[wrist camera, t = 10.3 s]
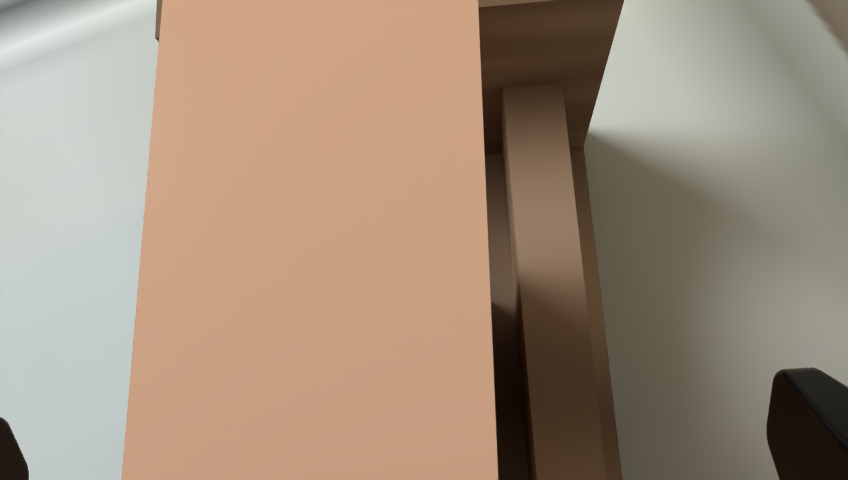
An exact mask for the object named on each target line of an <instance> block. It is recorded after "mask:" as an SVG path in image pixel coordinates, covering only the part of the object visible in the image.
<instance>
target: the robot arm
mask: <svg viewBox="0 0 848 480" xmlns="http://www.w3.org/2000/svg"><path fill="white" fill-rule="evenodd" d="M767 440H768V445H769V448H770V452H771V455H772V458H773V461H774V464H775V467H776V470H777V473H778V476H779V479H780V480H848V387H847V386H845V385H844V384H842V383H840V382H839V381H837V380H835V379H834V378H832V377H831V376H829V375H827V374H826V373H824V372H822V371H820V370H818V369H816V368H796V369H782V370H780V371H779V372H777V373H776V375H775V377H774V379H773V385H772V392H771V399H770V406H769V413H768V420H767ZM0 480H29V472H28V466H27V463H26V461H25V459H24V457H23V454H22V452H21V450H20V448H19V446H18V443H17V441H16V439H15V437H14V435H13V432H12V430H11V428H10V426H9V424H8V422H7V421H6V420H4V419H3V418H2V417H0Z"/></svg>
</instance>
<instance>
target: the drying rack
mask: <svg viewBox="0 0 848 480" xmlns="http://www.w3.org/2000/svg"><path fill="white" fill-rule="evenodd" d="M162 1H163V0H157V13H156V32H155V38H156V39H157V40H158V42H159V36H160V24H161V12H162ZM623 2H624V0H478V13H479V36H480V60H481V83H482V107H483V131H484V154H485V178H486V202H487V226H488V249H489V273H490V297H491V320H492V344H493V368H494V391H495V415H496V438H497V462H498V480H622V474H621V466H620V457H619V449H618V440H617V431H616V423H615V414H614V406H613V397H612V389H611V380H610V371H609V363H608V354H607V346H606V337H605V329H604V320H603V311H602V303H601V294H600V286H599V277H598V268H597V260H596V251H595V243H594V234H593V226H592V217H591V208H590V200H589V191H588V183H587V174H586V165H585V157H584V148H583V146H584V142H585V139H586V135H587V132H588V128H589V124H590V121H591V117H592V114H593V110H594V106H595V103H596V99H597V96H598V92H599V88H600V85H601V81H602V78H603V74H604V71H605V67H606V63H607V60H608V56H609V53H610V49H611V45H612V42H613V38H614V35H615V31H616V27H617V24H618V20H619V17H620V13H621V9H622V6H623Z"/></svg>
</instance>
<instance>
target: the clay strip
mask: <svg viewBox="0 0 848 480" xmlns="http://www.w3.org/2000/svg"><path fill="white" fill-rule="evenodd" d="M122 480H498V462H497V438H496V415H495V391H494V368H493V344H492V320H491V297H490V273H489V249H488V226H487V202H486V178H485V154H484V131H483V107H482V83H481V60H480V36H479V13H478V0H163V1H162V12H161V24H160V36H159V48H158V59H157V71H156V83H155V94H154V106H153V118H152V130H151V141H150V153H149V165H148V177H147V188H146V200H145V212H144V223H143V235H142V247H141V259H140V270H139V282H138V294H137V305H136V317H135V329H134V341H133V352H132V364H131V376H130V387H129V399H128V411H127V423H126V434H125V446H124V458H123V469H122Z"/></svg>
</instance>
